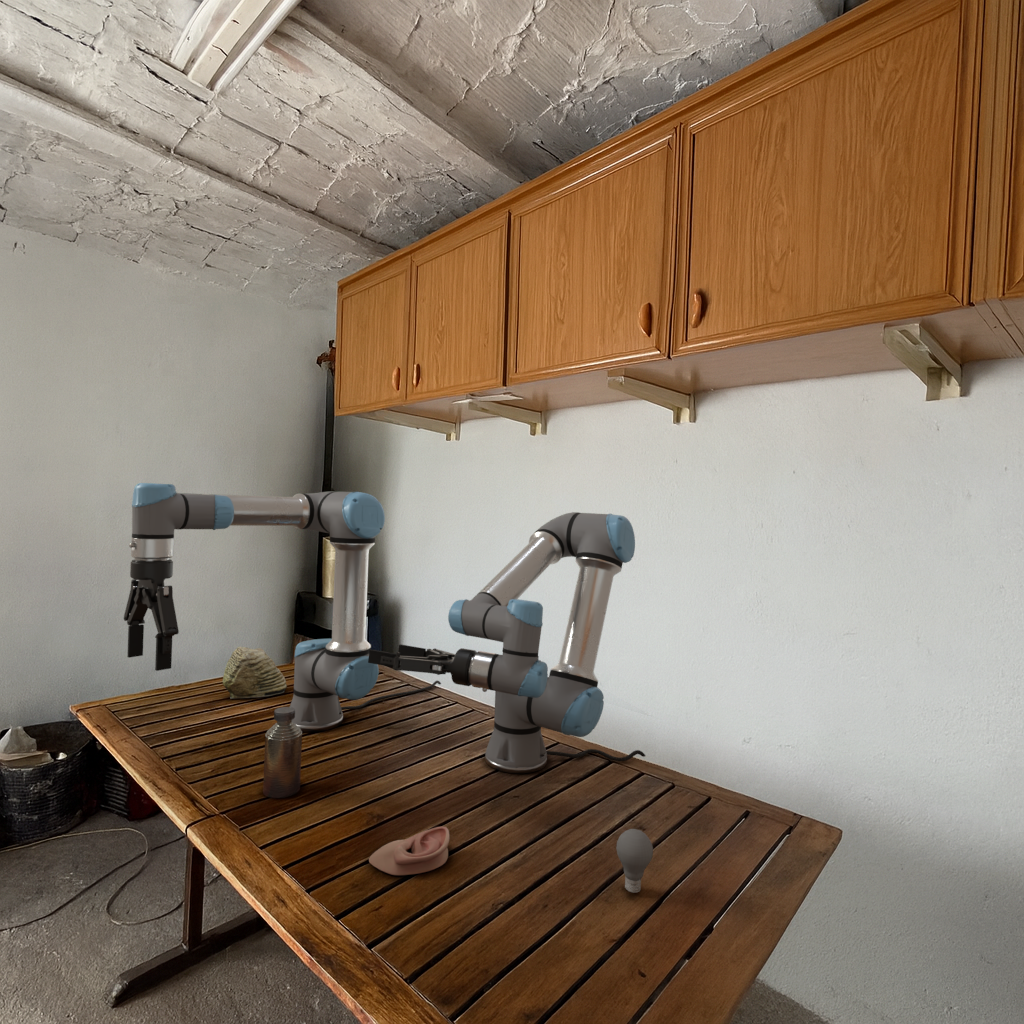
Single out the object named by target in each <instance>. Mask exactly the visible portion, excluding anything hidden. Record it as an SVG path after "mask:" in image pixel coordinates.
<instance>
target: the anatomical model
mask: <svg viewBox="0 0 1024 1024" xmlns="http://www.w3.org/2000/svg"><path fill="white" fill-rule="evenodd" d="M450 835H451V834H450V830H449V828H447V826H435V827H433V828H428V829H427V830H424V831H421V832H418V833H417V834H415V835H411V836H410V837H408V838H405V839H397V840H393V841H390V842H388V843H386V844H384V845H382V846H381V847H379V848H378V849H376V850H375V851H374V852H373V853H371V855H370V856H369V858H368V862H369V864H370V865H372V866H373V867H374V868H376V869H378V870H379V871H381V872H383V873H386V874H388V875H391V876H408V875H417V874H422V873H426V872H430V871H433V870H435V869H438V868H439V867H442V866H443V865H444V864H446V862H447V861H448V858H449V848H448V847H449V843H450V837H451V836H450Z"/></svg>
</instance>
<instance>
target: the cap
mask: <svg viewBox="0 0 1024 1024" xmlns="http://www.w3.org/2000/svg"><path fill="white" fill-rule="evenodd" d="M294 718H295V709H294V708H292V707H290V706H282V707H281V706H280V707H277V708H275V709H274V711H273V719H274V721H276V722H277V721H290V720H292V719H294Z"/></svg>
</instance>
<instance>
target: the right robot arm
mask: <svg viewBox="0 0 1024 1024" xmlns="http://www.w3.org/2000/svg"><path fill="white" fill-rule="evenodd" d="M635 550H636V536H635V531H634V527H633V525H632V522H631V521H630V519H628V518H627V517H626V516H625V515H620V514H614V513H613V514H612V513H596V512H595V513H591V512H577V511H576V512H575V511H572V512H567V513H563V514H560V515H559V516H556V517H555V518H552V519H550V520H549V521H547V522H545V523H544V524H543V525H541V526H540V527H539V528H537V529H536V530H535V531H534V532H533V533H532V534H531V535H530V537H529V539H528V543H527V545H526V546H525V547H523V548H522V550H520V551H519V552H518V553H517V554H516V556H514V557H513V558H512V559H511V560H510V561H509V562H508V563H507V564H506V565H505V566H504V567H503V568H502V569H501V570H500V571H499V572H498V573H497V574H495V576H494V577H493V578H492V579H491V580H490V581H489V582H488V583H487V584H486V585H485V586H483V588H482V589H480V591H479V592H477V593H476V594H475V595H474V596H473V597H472V598H471V599H470V600H469V599H466V598H465V599H457V600H456V601H454V602H453V603H452V605H451V606H450V607H449V610H448V618H447V619H448V624H449V627H450V629H451V630H452V631H453V632H455V633H457V634H461V635H463V636H465V637H466V636H467V637H474V638H478V639H479V638H480V639H484V640H485V639H486V640H490V641H494V642H498V643H499V642H500V643H502V654H499V653H497V652H489V651H484V650H483V651H482V650H478V651H477V650H475V649H468V648H459V649H458V650H457V651H456V652H455V653H453V652H449V651H445V650H442V649H438V648H432V649H431V648H424V647H418V646H412V645H407V644H401V643H400V644H398V649H397V651H396V652H395V653H393V652H389V651H382V650H378V649H371V650H370V651H369V659H368V663H372V664H377V665H378V666H383V667H384V666H385V667H388V668H389V667H390V668H392V670H393V671H402V672H405V671H406V672H412V673H413V672H414V673H424V674H426V673H427V674H434V675H437V676H440V675H446V674H450V675H451V680H452V683H454V684H455V685H460V686H465V687H471V686H472V687H473V688H477V689H481V690H482V692H484V693H486V692H487V691H488V690H490V691H492V692H493V691H494V694H495V695H494V715H493V717H494V719H493V729H492V732H491V736H490V738H489V741H488V743H487V746H486V748H485V753H484V755H485V756H484V760H485V763H486V764H487V765H488V766H489V767H490V768H492V769H494V770H496V771H500V772H503V773H509V774H529V773H530V774H531V773H536V772H537V771H540V770H542V769H544V768H545V767H546V766H547V763H548V756H556V757H563V758H570V759H578V758H583V757H584V756H586V755H588V754H597V755H599V756H602V757H604V758H606V759H608V760H611V761H614V762H620V763H621V762H626V761H629V760H630V759H632V758H633V757H635V756H636V755H640V757H643V758H644V757H646V754H645V753H644V752H643V751H642V750H639V749H636V750H634V751H632V752H631V753H629V754H628V755H626V756H622V757H621V756H619V757H618V756H612V755H610V754H608V753H606V752H604V751H602V750H600V749H594V748H588V749H585V750H583V751H581V752H579V753H568V752H562V751H552V750H547V749H546V744H545V742H544V737H543V733H542V728H543V729H547V730H550V731H553V732H556V733H561V734H562V735H565V736H572V737H577V738H584V737H586V736H588V735H590V733H592V732H593V730H595V728H596V726H597V725H598V724H599V721H600V719H601V716H602V713H603V710H604V705H605V704H604V703H605V702H604V699H605V697H604V693H603V692H602V690H601V689H600V688H599V687H598V685H599V679H598V677H597V676H596V674H595V668H596V663H597V658H598V653H599V649H600V644H601V639H602V634H603V629H604V625H605V620H606V615H607V610H608V607H609V600H610V597H611V596H610V595H611V591H612V586H613V581H614V577H615V576H616V575H618V574H620V573H621V572H622V568H623V565H624V564H626V563H629V562H631V561H632V560H633V559H632V558H634V554H635ZM563 558H564V559H565V558H575V560H574V561H575V563H576V565H577V567H578V569H579V570H578V574H577V578H576V583H575V587H574V593H573V597H572V601H571V606H570V610H569V614H568V618H567V624H566V627H565V632H564V636H563V642H562V646H561V650H560V654H559V658H558V659H559V660H558V663H557V664H556V665H554V666H553V667H551V668H550V671H549V675H548V664H547V662H545V661H542V660H541V659H539V657H540V656H539V651H540V642H541V635H542V627H543V618H544V617H543V613H544V606H543V605H542V603H541V602H539V601H534V600H527V599H519V598H521V596H523V594H524V593H525V592H526V591H527V590H528V589H529V588H530V587H531V585H532V584H534V583H535V581H536V580H537V579H538V578H539V577H540V576H541V575H542V574H543V573H544V572H545V571H546V570H547V569H548V568H549V566H550V565H555V564H557V563H559V562H560V560H561V559H563Z"/></svg>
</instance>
